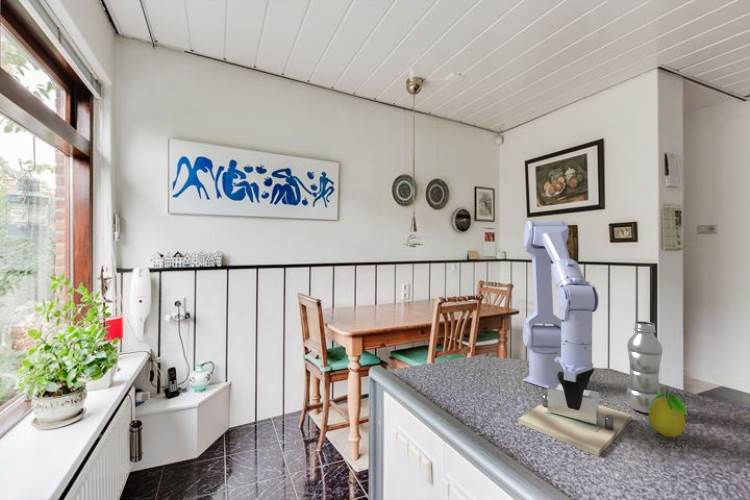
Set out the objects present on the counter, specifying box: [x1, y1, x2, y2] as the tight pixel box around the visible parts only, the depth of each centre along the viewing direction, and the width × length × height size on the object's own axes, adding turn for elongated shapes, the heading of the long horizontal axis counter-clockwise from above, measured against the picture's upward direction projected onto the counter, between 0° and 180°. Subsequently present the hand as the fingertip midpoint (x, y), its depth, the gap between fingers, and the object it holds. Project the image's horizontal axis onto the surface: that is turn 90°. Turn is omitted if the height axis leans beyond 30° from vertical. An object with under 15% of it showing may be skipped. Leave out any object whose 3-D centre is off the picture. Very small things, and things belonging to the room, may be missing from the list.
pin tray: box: [518, 393, 633, 457], centre depth 74 cm, size 20×15×4 cm
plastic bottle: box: [625, 320, 663, 414], centre depth 79 cm, size 6×7×20 cm
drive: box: [547, 382, 600, 424], centre depth 75 cm, size 4×9×5 cm, turn 51°
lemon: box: [648, 386, 689, 438], centre depth 68 cm, size 7×6×10 cm
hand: (575, 404), depth 74 cm, fingers closed on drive, 4 cm apart
